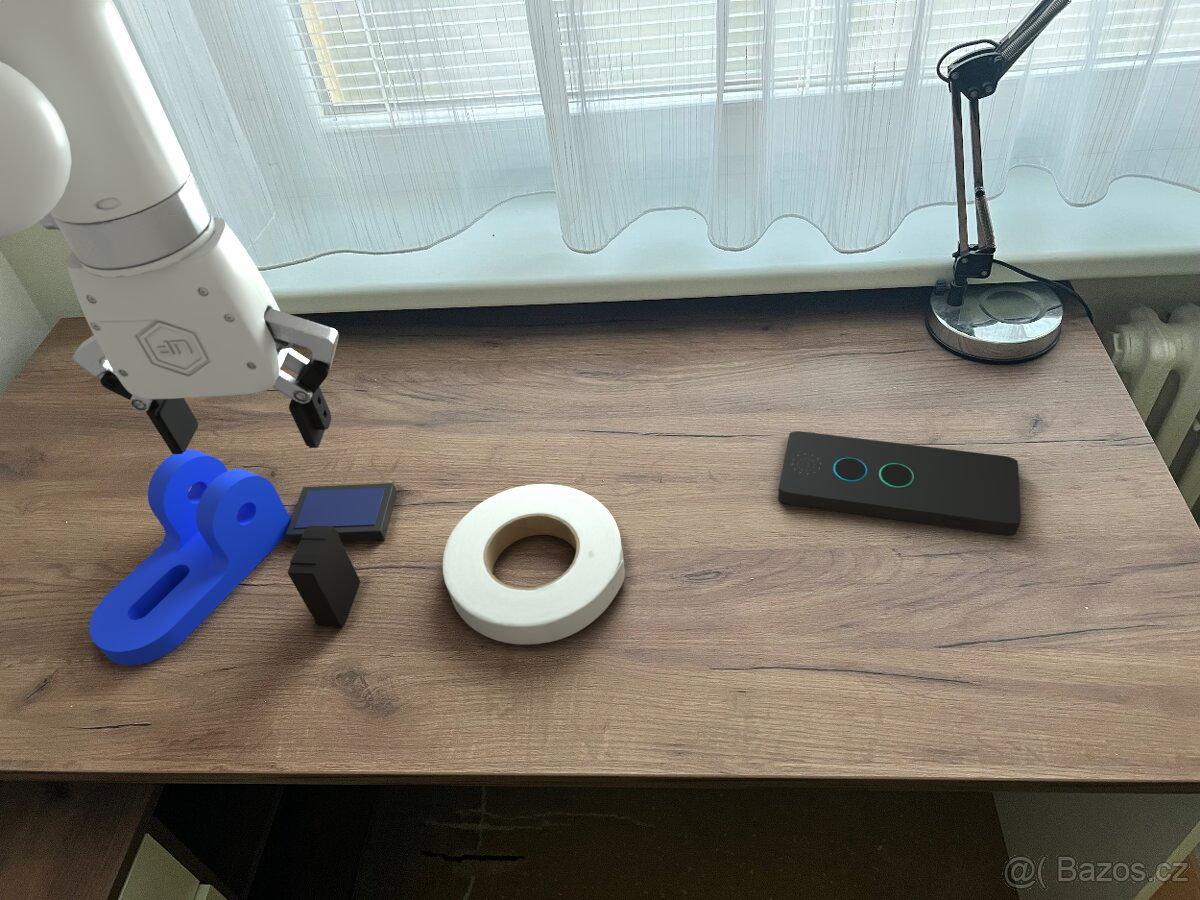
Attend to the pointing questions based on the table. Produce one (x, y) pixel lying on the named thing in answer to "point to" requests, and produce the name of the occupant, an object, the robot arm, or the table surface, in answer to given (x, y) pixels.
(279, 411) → the table surface
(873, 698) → the table surface
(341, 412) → the table surface
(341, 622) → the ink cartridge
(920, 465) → the smart home device
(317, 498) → the ink pad
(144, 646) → the bracket
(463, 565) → the tape roll
